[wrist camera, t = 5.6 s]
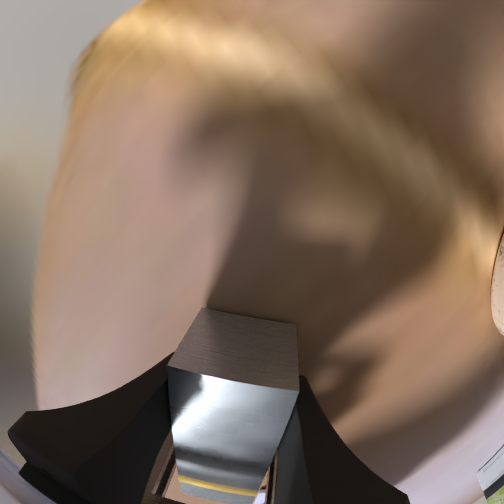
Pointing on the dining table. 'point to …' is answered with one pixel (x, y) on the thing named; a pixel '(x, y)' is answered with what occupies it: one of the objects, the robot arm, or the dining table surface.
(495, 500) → the tea box
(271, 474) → the collar frame
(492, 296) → the teacup with lid
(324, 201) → the dining table surface
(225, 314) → the grey rectangular block
